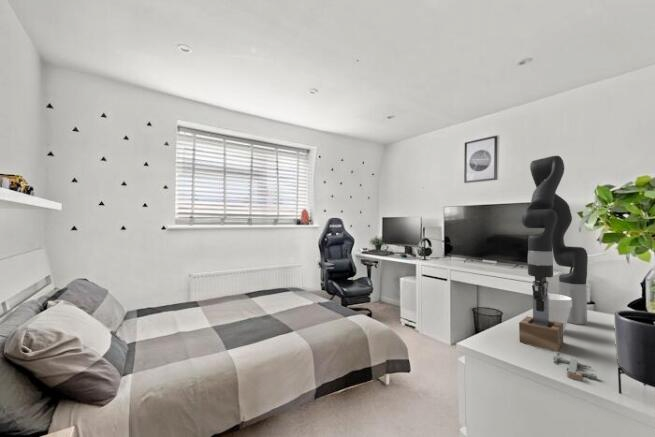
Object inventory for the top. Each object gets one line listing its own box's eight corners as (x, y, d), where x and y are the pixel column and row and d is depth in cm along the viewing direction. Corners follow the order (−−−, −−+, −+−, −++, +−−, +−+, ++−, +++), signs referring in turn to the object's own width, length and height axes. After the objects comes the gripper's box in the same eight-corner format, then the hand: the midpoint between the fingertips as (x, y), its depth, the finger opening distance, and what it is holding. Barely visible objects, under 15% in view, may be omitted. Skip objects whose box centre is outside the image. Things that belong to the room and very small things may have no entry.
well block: (527, 334, 112) (526, 316, 112) (563, 342, 104) (562, 323, 104) (519, 342, 104) (519, 322, 105) (557, 351, 96) (557, 330, 97)
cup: (570, 328, 118) (569, 295, 119) (575, 338, 108) (574, 301, 109) (534, 323, 125) (533, 291, 126) (535, 331, 115) (534, 297, 115)
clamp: (596, 379, 76) (549, 366, 83) (596, 387, 76) (549, 374, 83) (597, 360, 87) (555, 350, 94) (597, 367, 87) (555, 357, 93)
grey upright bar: (534, 324, 108) (534, 292, 108) (549, 327, 104) (548, 294, 105) (531, 327, 105) (531, 294, 105) (546, 330, 101) (546, 296, 102)
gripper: (532, 260, 113) (533, 304, 113) (523, 263, 104) (523, 311, 103) (556, 262, 108) (557, 308, 107) (548, 265, 98) (549, 316, 98)
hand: (541, 310), depth 105 cm, fingers closed on grey upright bar, 2 cm apart
